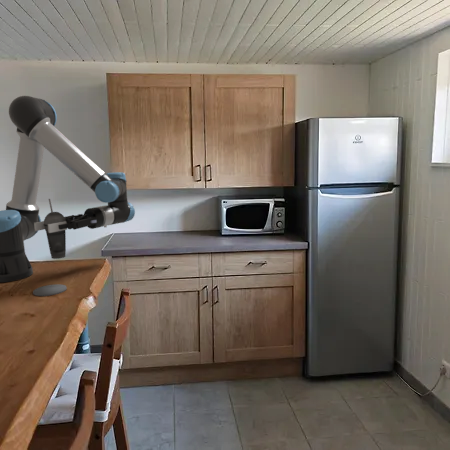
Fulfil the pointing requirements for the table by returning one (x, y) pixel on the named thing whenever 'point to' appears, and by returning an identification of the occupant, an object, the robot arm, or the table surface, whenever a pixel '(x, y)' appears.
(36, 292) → the coaster
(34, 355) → the table surface
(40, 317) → the table surface
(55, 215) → the beverage cup
